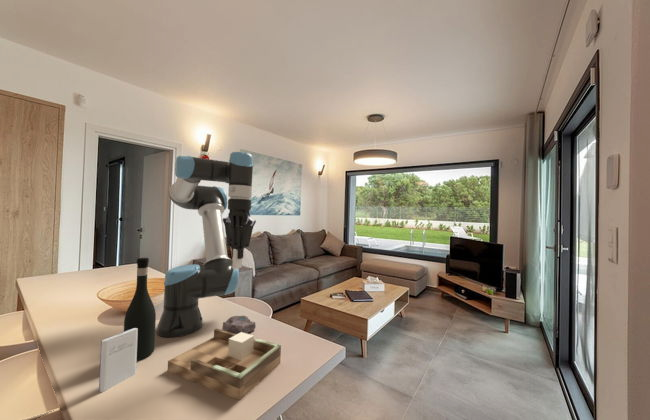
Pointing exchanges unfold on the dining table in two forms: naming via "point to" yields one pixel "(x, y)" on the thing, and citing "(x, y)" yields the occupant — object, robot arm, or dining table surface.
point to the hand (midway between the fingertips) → (237, 267)
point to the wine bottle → (142, 313)
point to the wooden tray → (226, 365)
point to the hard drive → (118, 358)
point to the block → (240, 345)
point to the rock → (238, 325)
